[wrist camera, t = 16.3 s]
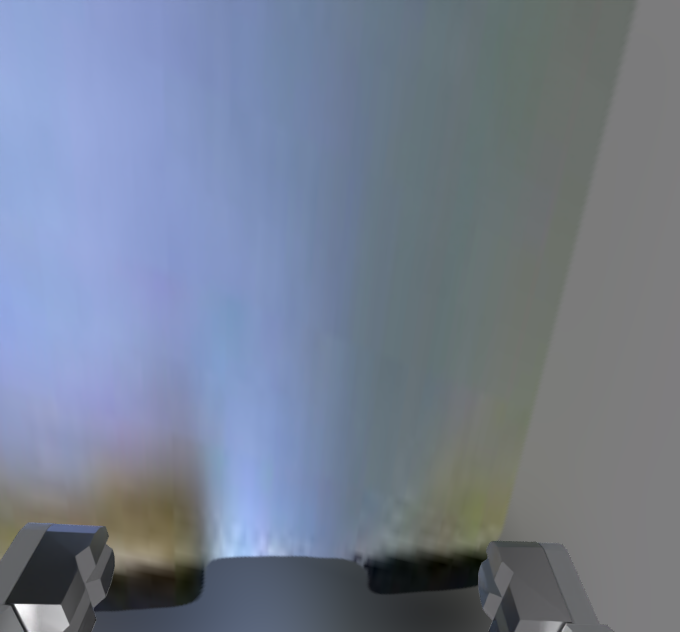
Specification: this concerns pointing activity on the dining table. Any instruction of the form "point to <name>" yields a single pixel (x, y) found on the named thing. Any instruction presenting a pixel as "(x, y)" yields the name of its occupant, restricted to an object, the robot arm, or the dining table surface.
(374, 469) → the dining table surface
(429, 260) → the dining table surface
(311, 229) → the dining table surface
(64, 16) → the dining table surface
